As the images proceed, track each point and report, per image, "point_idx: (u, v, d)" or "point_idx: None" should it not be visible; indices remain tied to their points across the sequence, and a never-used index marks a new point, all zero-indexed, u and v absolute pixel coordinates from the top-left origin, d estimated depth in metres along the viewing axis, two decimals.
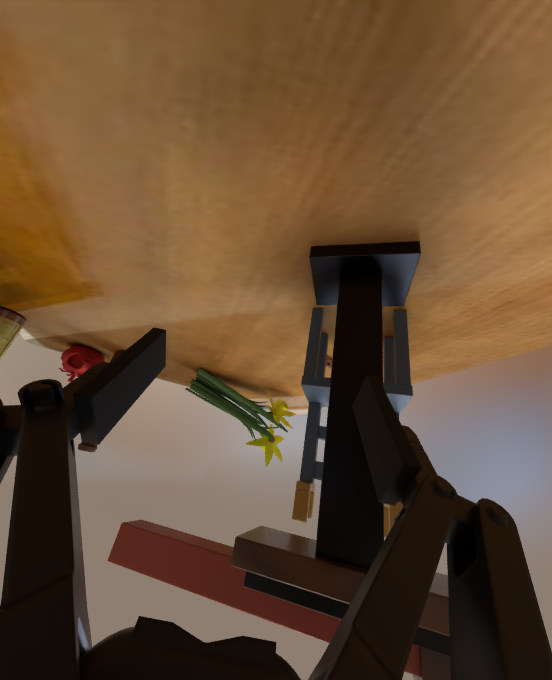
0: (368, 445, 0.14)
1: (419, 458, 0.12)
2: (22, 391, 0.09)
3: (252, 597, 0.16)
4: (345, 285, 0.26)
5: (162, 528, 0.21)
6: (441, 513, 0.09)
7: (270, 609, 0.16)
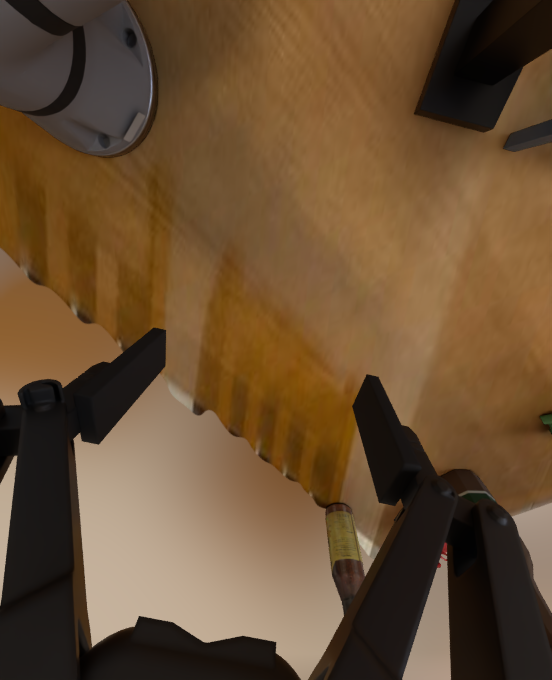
0: (368, 445, 0.14)
1: (419, 458, 0.12)
2: (22, 391, 0.09)
3: None
4: (468, 57, 0.23)
5: None
6: (441, 513, 0.09)
7: None
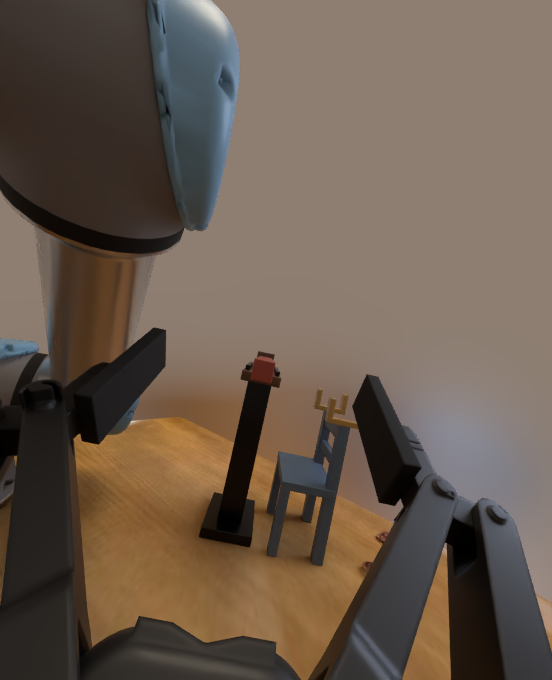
0: (368, 445, 0.14)
1: (419, 458, 0.12)
2: (22, 391, 0.09)
3: None
4: (220, 503, 0.44)
5: None
6: (441, 513, 0.09)
7: None
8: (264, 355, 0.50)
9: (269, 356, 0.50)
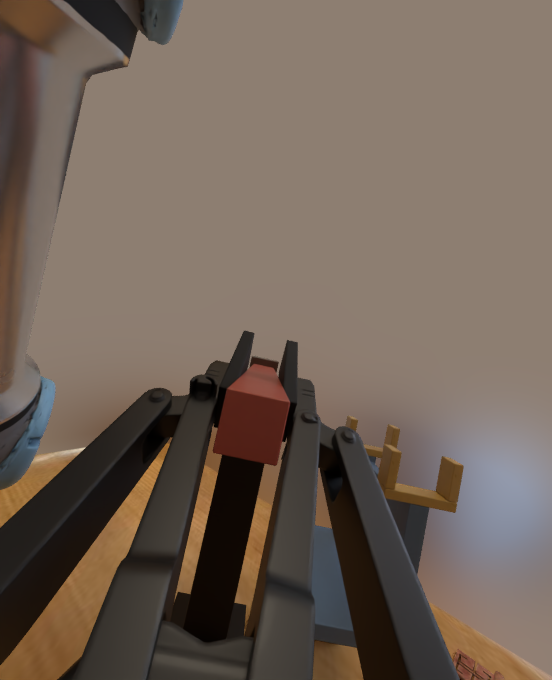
0: None
1: (306, 401, 0.14)
2: (193, 380, 0.12)
3: None
4: None
5: None
6: (312, 438, 0.11)
7: None
8: (261, 363, 0.30)
9: (270, 365, 0.30)
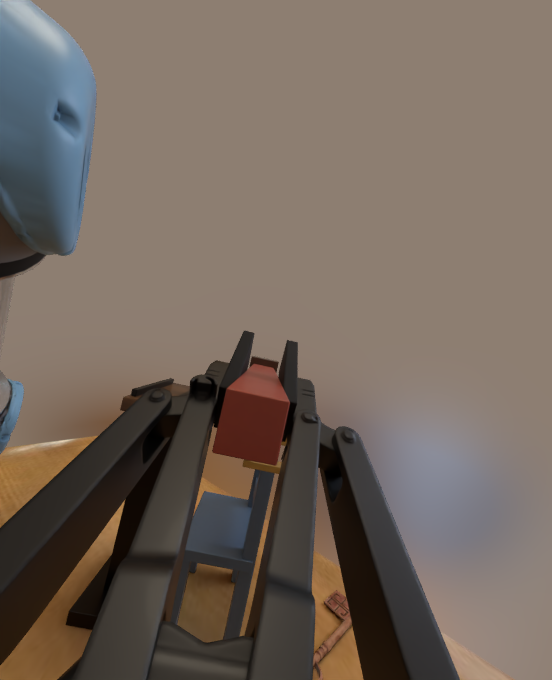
0: None
1: (306, 401, 0.14)
2: (193, 380, 0.12)
3: None
4: None
5: None
6: (312, 438, 0.11)
7: None
8: (261, 363, 0.30)
9: (270, 364, 0.30)
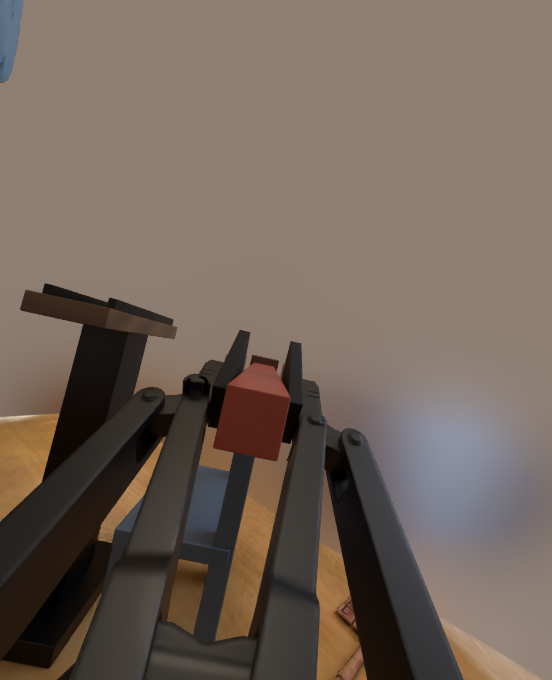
0: None
1: (311, 403, 0.14)
2: (186, 379, 0.12)
3: None
4: None
5: None
6: (318, 440, 0.11)
7: None
8: (262, 362, 0.30)
9: (270, 363, 0.30)
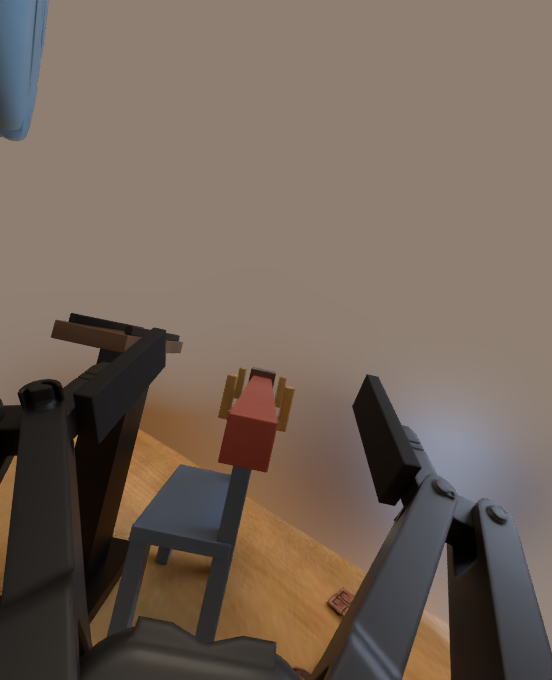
0: (368, 445, 0.14)
1: (419, 458, 0.12)
2: (22, 391, 0.09)
3: None
4: None
5: None
6: (441, 513, 0.09)
7: None
8: (260, 374, 0.33)
9: (268, 376, 0.33)
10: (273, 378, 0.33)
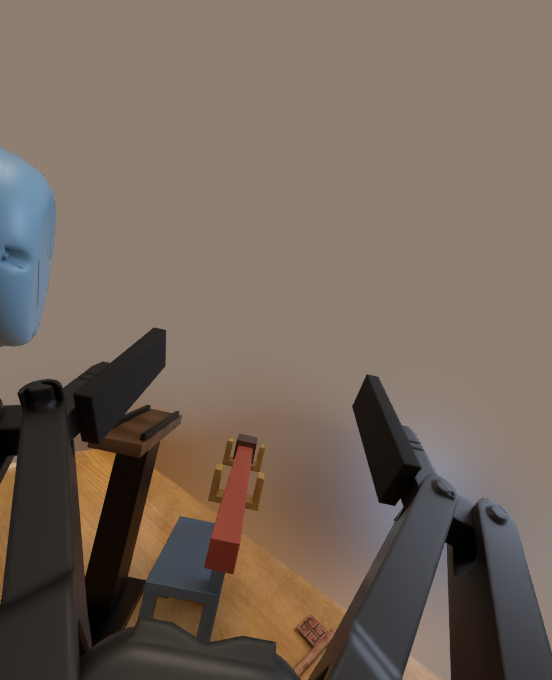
0: (368, 445, 0.14)
1: (419, 458, 0.12)
2: (22, 391, 0.09)
3: None
4: None
5: None
6: (441, 513, 0.09)
7: None
8: (244, 444, 0.41)
9: (250, 446, 0.42)
10: (254, 447, 0.42)
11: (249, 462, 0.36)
